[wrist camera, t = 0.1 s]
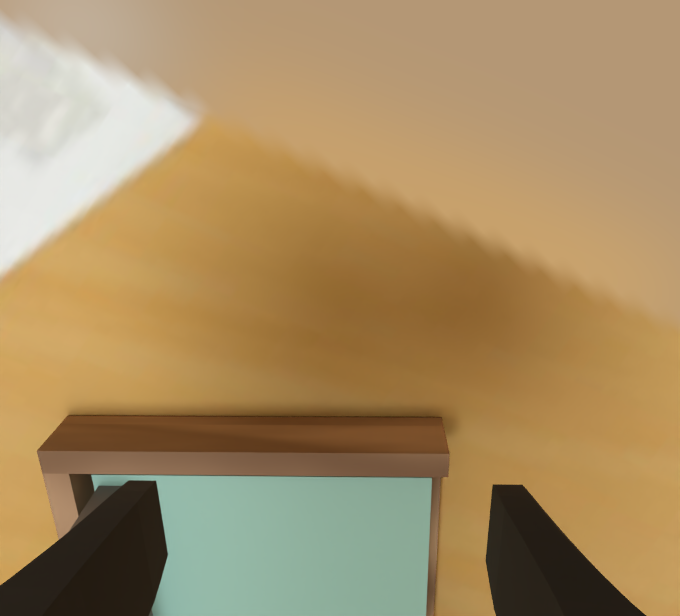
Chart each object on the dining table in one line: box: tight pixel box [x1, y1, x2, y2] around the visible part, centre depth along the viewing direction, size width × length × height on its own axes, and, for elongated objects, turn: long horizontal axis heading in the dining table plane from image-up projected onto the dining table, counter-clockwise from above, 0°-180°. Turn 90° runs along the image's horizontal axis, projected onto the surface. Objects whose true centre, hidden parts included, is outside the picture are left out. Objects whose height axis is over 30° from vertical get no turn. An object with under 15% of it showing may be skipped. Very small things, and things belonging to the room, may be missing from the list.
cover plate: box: [70, 474, 432, 616], centre depth 24 cm, size 11×13×4 cm
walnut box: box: [37, 416, 449, 616], centre depth 25 cm, size 14×15×2 cm
